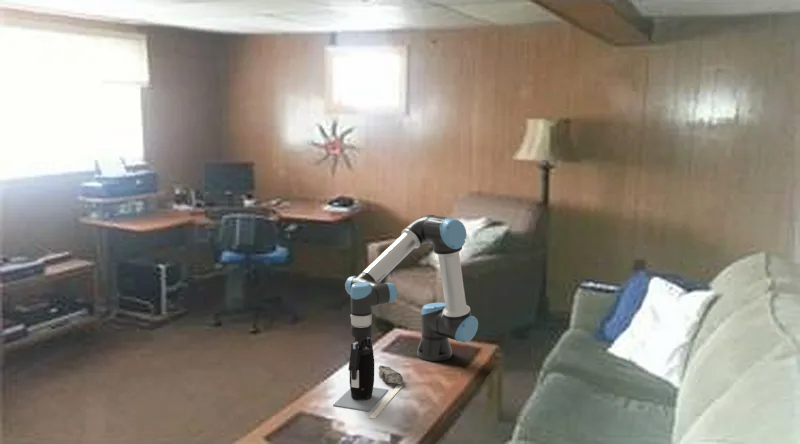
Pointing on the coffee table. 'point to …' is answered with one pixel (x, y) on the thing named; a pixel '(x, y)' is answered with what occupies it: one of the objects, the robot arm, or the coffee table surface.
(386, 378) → the mineral rock
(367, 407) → the mat
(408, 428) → the coffee table surface
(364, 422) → the coffee table surface
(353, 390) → the portable speaker
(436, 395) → the coffee table surface
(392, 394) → the strip
